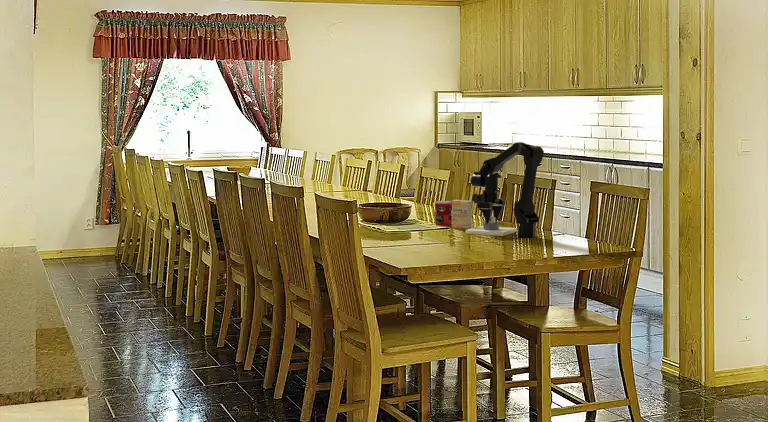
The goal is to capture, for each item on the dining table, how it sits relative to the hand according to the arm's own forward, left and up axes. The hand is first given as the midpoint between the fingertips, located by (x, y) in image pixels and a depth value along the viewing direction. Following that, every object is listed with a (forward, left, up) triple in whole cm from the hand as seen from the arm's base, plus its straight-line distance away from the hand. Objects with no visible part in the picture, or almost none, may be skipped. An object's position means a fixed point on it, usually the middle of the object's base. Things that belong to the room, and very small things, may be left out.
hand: (491, 222), depth 424 cm
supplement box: (+18, -7, -5) cm, 20 cm away
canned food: (+32, -16, -5) cm, 36 cm away
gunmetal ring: (0, 0, -3) cm, 3 cm away
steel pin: (0, 0, -3) cm, 3 cm away
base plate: (0, 0, -4) cm, 4 cm away
